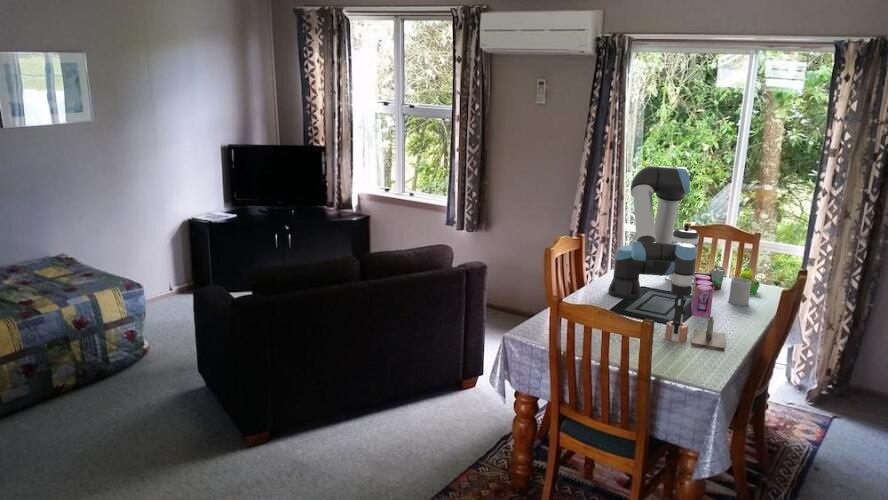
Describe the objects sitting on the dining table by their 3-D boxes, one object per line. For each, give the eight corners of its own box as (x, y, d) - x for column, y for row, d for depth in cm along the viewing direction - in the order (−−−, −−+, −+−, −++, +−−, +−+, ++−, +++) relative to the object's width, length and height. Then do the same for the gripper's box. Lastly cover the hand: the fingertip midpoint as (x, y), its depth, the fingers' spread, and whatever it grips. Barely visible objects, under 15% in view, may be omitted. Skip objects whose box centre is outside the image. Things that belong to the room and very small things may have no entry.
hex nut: (686, 343, 263) (687, 329, 261) (663, 339, 266) (665, 325, 265) (687, 337, 269) (689, 323, 268) (665, 333, 273) (667, 319, 271)
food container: (720, 293, 325) (723, 273, 322) (707, 290, 328) (709, 270, 325) (725, 286, 335) (728, 267, 332) (712, 284, 338) (715, 265, 336)
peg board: (690, 345, 261) (693, 320, 258) (693, 331, 275) (696, 308, 273) (724, 350, 257) (727, 325, 254) (724, 336, 271) (728, 312, 268)
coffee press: (668, 275, 351) (674, 219, 344) (699, 281, 342) (706, 223, 335) (657, 283, 338) (663, 225, 330) (689, 289, 329) (696, 230, 321)
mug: (748, 307, 306) (751, 284, 303) (727, 304, 309) (731, 281, 306) (748, 299, 316) (752, 277, 313) (729, 296, 320) (732, 274, 317)
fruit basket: (732, 292, 326) (735, 270, 324) (732, 287, 334) (735, 265, 332) (758, 295, 323) (761, 272, 320) (757, 290, 331) (760, 268, 328)
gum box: (710, 319, 290) (714, 289, 287) (691, 316, 292) (694, 287, 289) (708, 302, 312) (712, 274, 308) (690, 299, 314) (694, 272, 311)
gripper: (690, 294, 249) (684, 347, 255) (694, 276, 272) (688, 326, 277) (669, 291, 252) (663, 344, 257) (674, 274, 274) (669, 323, 280)
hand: (676, 335), depth 267 cm, fingers open, 13 cm apart
